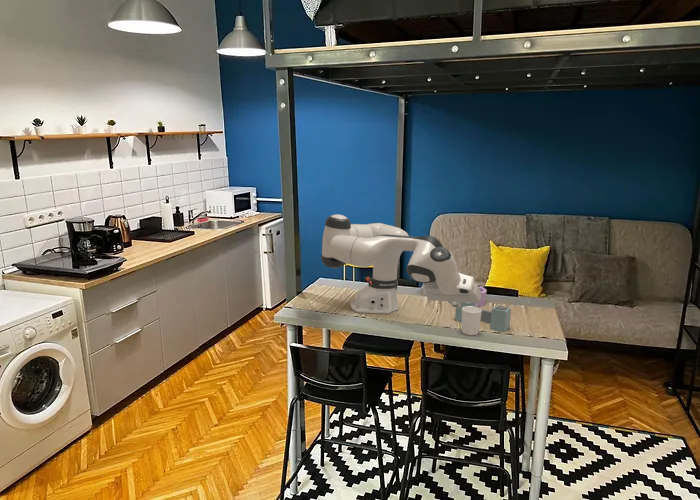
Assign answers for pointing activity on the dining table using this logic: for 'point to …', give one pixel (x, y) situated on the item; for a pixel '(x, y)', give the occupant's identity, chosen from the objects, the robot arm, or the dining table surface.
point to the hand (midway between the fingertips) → (456, 305)
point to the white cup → (471, 320)
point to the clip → (482, 297)
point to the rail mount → (490, 316)
